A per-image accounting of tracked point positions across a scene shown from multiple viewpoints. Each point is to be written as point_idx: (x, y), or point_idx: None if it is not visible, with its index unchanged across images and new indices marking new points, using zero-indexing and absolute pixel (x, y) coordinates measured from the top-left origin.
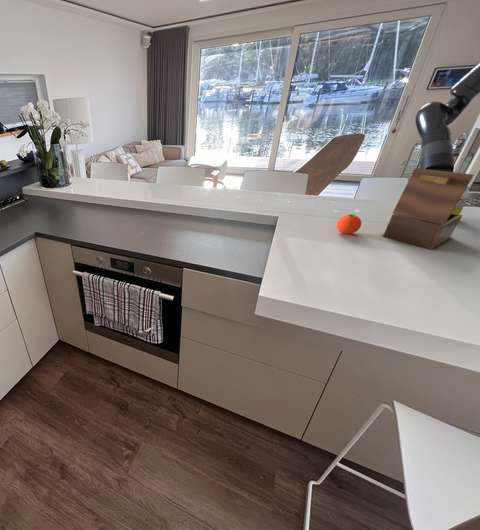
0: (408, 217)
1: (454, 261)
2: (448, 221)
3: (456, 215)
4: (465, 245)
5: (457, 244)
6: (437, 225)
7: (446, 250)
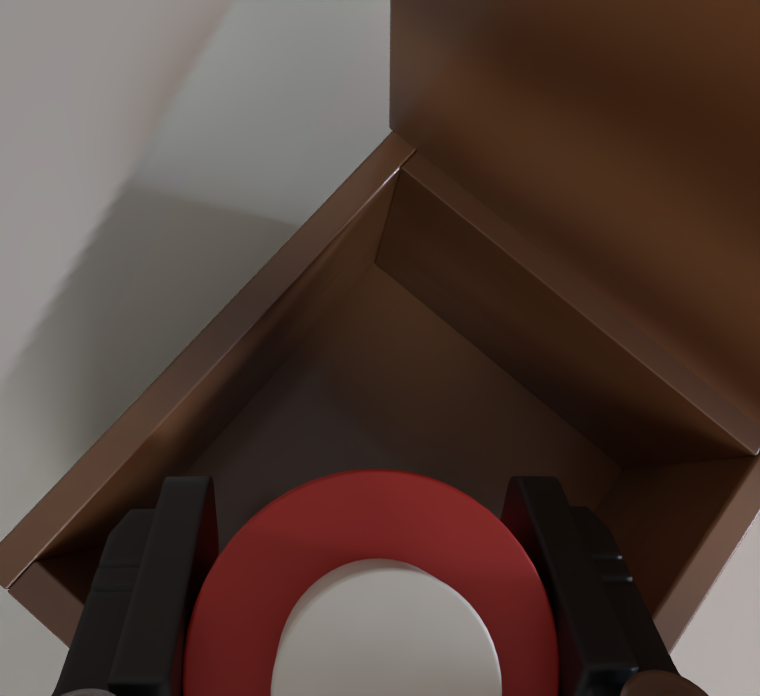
0: (652, 363)
1: (308, 61)
2: (279, 279)
3: (47, 566)
4: (68, 370)
5: (120, 381)
6: None
7: (270, 238)
